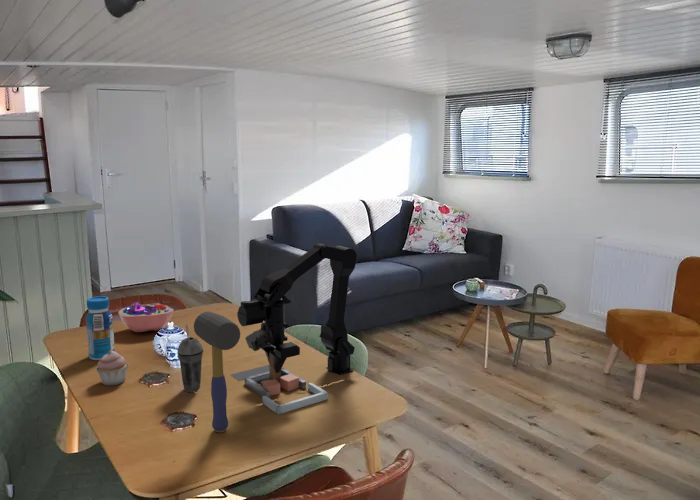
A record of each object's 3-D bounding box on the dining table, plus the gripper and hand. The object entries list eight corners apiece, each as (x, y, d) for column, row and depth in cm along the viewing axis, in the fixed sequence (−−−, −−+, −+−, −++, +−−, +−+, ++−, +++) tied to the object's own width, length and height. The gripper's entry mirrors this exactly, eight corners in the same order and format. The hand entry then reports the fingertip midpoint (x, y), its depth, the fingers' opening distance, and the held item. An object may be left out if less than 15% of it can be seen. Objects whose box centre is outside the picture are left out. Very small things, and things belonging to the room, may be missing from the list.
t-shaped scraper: (286, 381, 177) (286, 347, 175) (290, 384, 175) (290, 350, 173) (259, 389, 172) (259, 354, 169) (263, 392, 170) (263, 356, 167)
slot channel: (283, 375, 183) (283, 367, 182) (306, 389, 172) (306, 381, 172) (244, 385, 175) (244, 377, 174) (266, 401, 164) (265, 392, 164)
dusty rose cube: (275, 390, 172) (275, 378, 171) (280, 395, 168) (280, 383, 168) (262, 392, 170) (261, 381, 169) (267, 398, 167) (266, 386, 166)
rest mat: (270, 366, 190) (270, 364, 190) (279, 372, 185) (279, 370, 185) (230, 376, 182) (230, 374, 181) (238, 382, 177) (238, 380, 177)
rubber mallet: (195, 425, 150) (190, 312, 145) (222, 417, 155) (218, 307, 149) (218, 445, 141) (213, 324, 135) (246, 435, 146) (242, 318, 140)
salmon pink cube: (290, 384, 176) (290, 373, 175) (299, 388, 173) (299, 377, 172) (279, 388, 173) (279, 377, 172) (288, 392, 170) (288, 381, 169)
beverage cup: (209, 385, 174) (207, 321, 171) (195, 395, 168) (192, 328, 164) (188, 382, 177) (185, 318, 173) (174, 392, 170) (170, 325, 166)
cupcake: (96, 378, 180) (94, 347, 178) (129, 373, 183) (127, 343, 181) (96, 390, 171) (93, 357, 169) (130, 385, 175) (128, 353, 173)
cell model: (166, 338, 216) (164, 308, 214) (111, 337, 216) (109, 308, 214) (179, 324, 233) (178, 296, 230) (129, 323, 233) (127, 295, 231)
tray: (311, 388, 173) (311, 382, 172) (327, 399, 166) (327, 392, 166) (262, 403, 163) (262, 396, 163) (278, 414, 157) (277, 407, 156)
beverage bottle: (82, 358, 195) (77, 300, 192) (101, 350, 203) (97, 294, 199) (102, 362, 192) (97, 303, 189) (121, 353, 200) (117, 296, 196)
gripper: (234, 316, 172) (236, 367, 175) (265, 333, 157) (266, 388, 160) (268, 310, 179) (269, 359, 181) (300, 326, 164) (301, 379, 167)
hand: (275, 371), depth 172 cm, fingers closed on t-shaped scraper, 2 cm apart
